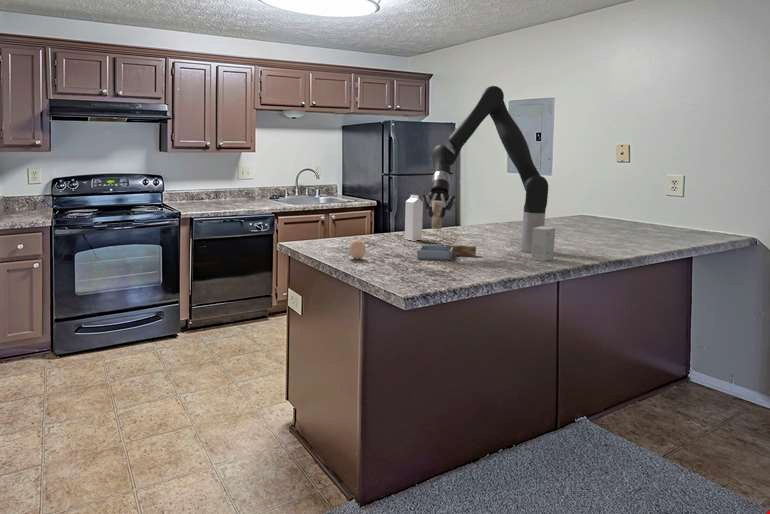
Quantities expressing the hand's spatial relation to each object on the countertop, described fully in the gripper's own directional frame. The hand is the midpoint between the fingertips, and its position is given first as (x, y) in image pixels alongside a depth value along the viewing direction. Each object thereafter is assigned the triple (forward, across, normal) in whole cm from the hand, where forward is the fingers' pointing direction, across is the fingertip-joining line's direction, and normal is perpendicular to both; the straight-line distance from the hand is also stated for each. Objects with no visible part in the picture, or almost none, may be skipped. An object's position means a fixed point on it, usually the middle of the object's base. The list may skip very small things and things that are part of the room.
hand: (436, 216), depth 229 cm
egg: (+20, -30, +4) cm, 36 cm away
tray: (+11, 0, +13) cm, 17 cm away
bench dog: (+6, +10, +18) cm, 21 cm away
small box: (+6, +43, +18) cm, 47 cm away
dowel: (+3, 0, +5) cm, 5 cm away
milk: (-17, -15, +42) cm, 48 cm away
